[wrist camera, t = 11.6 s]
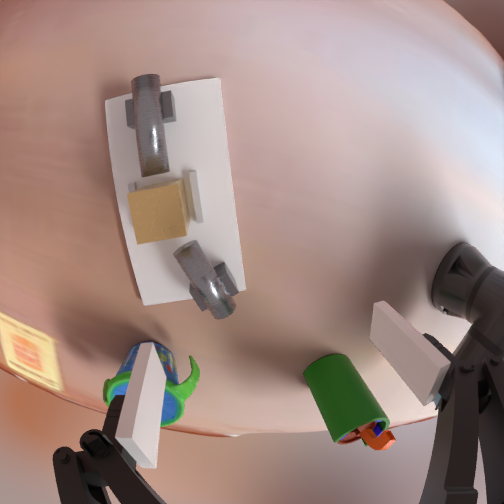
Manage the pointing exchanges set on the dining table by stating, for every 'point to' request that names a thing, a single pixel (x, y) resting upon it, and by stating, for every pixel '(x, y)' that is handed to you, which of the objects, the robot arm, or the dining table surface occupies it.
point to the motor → (347, 403)
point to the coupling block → (159, 211)
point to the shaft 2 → (207, 280)
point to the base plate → (196, 186)
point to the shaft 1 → (150, 122)
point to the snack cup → (173, 390)
